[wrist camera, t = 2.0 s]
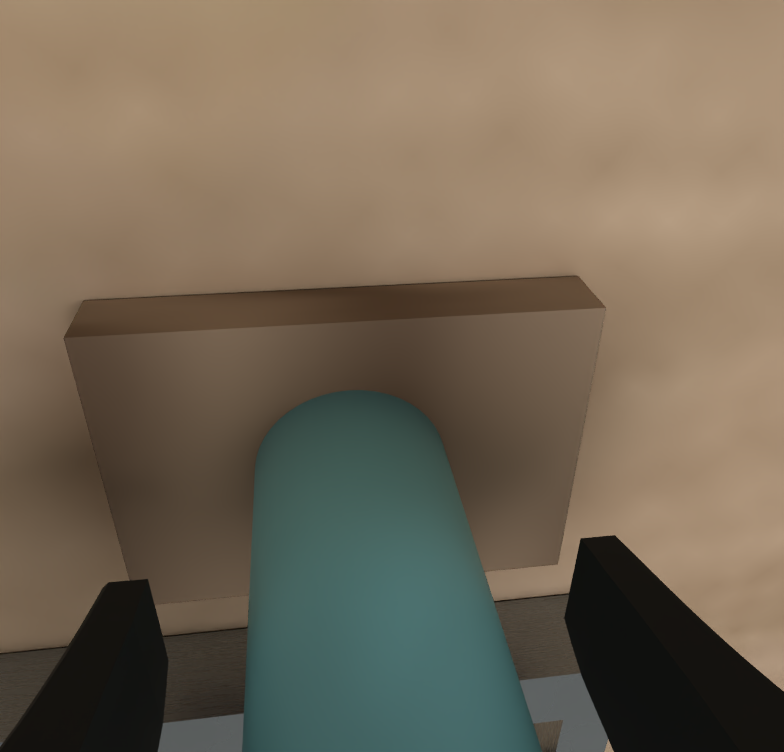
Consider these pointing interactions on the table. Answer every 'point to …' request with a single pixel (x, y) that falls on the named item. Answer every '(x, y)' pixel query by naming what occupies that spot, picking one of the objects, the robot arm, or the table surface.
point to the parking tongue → (323, 376)
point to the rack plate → (228, 670)
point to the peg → (370, 593)
